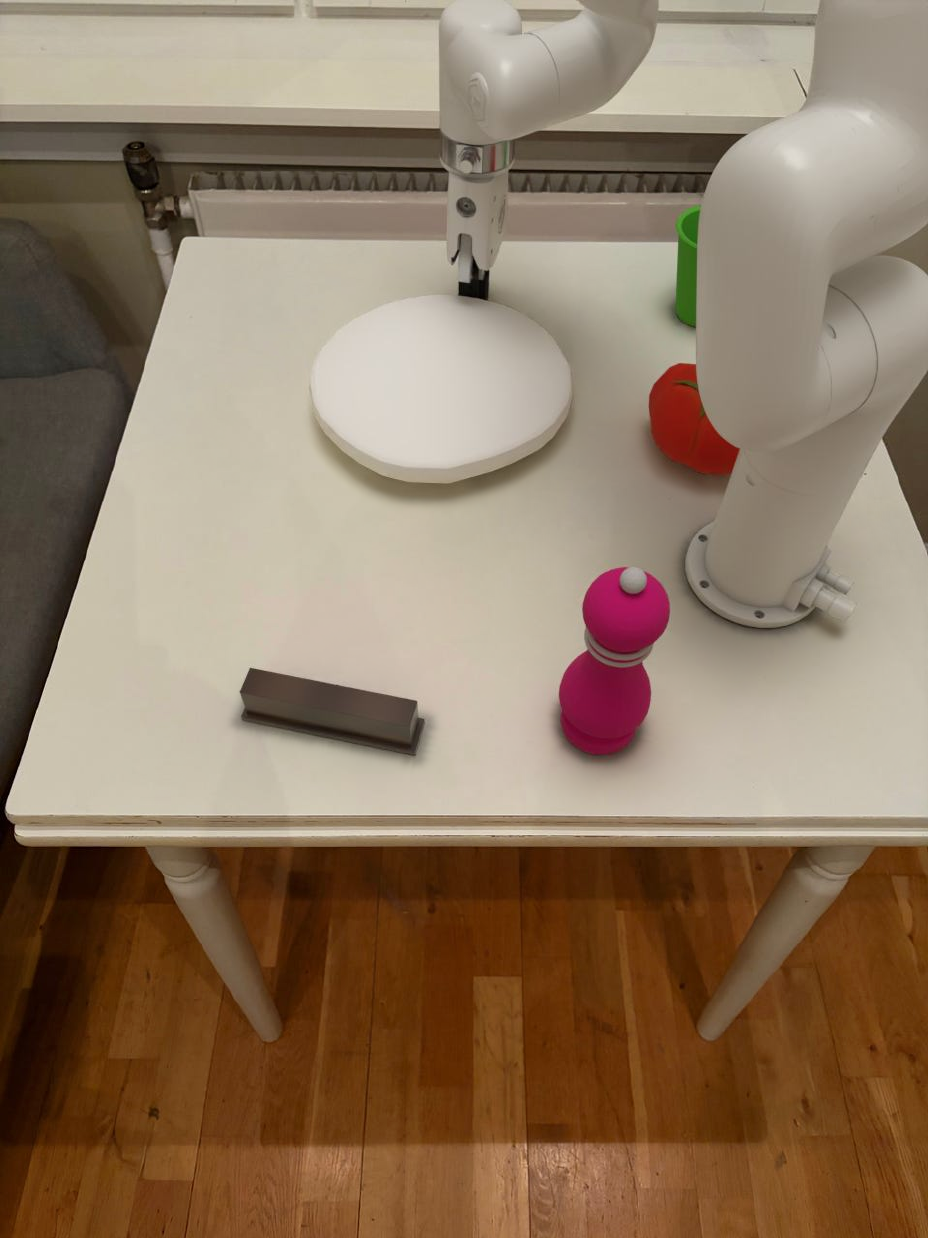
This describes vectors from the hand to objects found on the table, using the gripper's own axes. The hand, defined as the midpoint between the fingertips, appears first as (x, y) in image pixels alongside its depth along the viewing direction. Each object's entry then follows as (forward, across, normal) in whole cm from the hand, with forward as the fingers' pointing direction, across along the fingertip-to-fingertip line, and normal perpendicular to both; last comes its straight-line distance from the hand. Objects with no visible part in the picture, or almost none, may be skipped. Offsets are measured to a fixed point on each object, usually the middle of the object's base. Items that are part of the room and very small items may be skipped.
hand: (473, 301), depth 108 cm
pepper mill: (+1, -50, -22) cm, 55 cm away
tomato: (+2, -16, -28) cm, 32 cm away
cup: (+2, +6, -25) cm, 26 cm away
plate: (+2, -16, 0) cm, 16 cm away
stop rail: (+1, -55, 0) cm, 55 cm away
